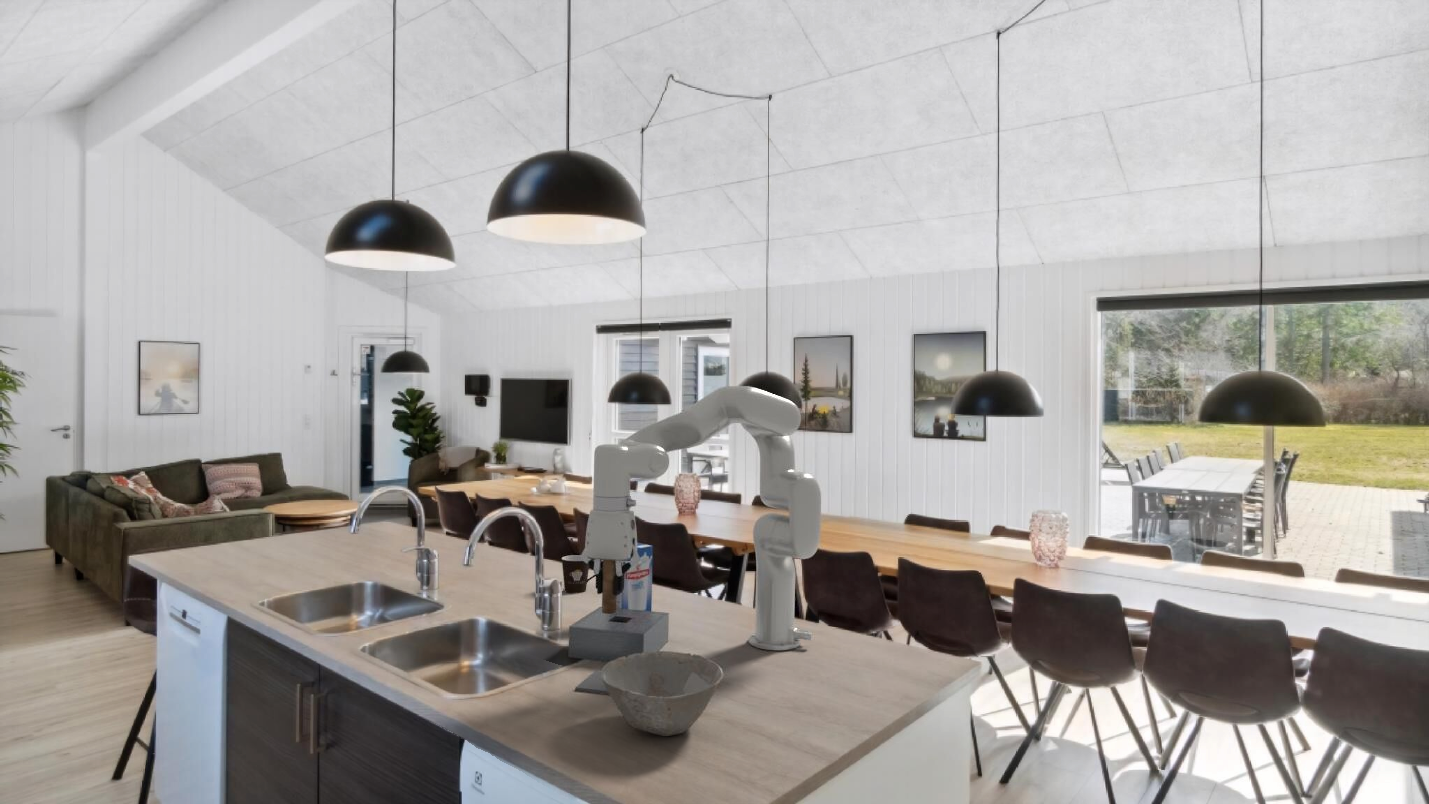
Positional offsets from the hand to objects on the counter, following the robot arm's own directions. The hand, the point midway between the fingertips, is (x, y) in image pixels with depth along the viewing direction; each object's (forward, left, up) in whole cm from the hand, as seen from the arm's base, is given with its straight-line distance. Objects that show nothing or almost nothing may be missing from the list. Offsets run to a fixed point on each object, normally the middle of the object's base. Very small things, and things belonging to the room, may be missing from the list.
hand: (609, 592), depth 161 cm
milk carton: (+12, -44, -19) cm, 49 cm away
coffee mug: (+38, -70, -19) cm, 82 cm away
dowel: (0, 0, -4) cm, 4 cm away
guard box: (+6, -22, -19) cm, 30 cm away
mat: (0, 0, -19) cm, 19 cm away
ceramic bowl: (-17, +16, -19) cm, 30 cm away
